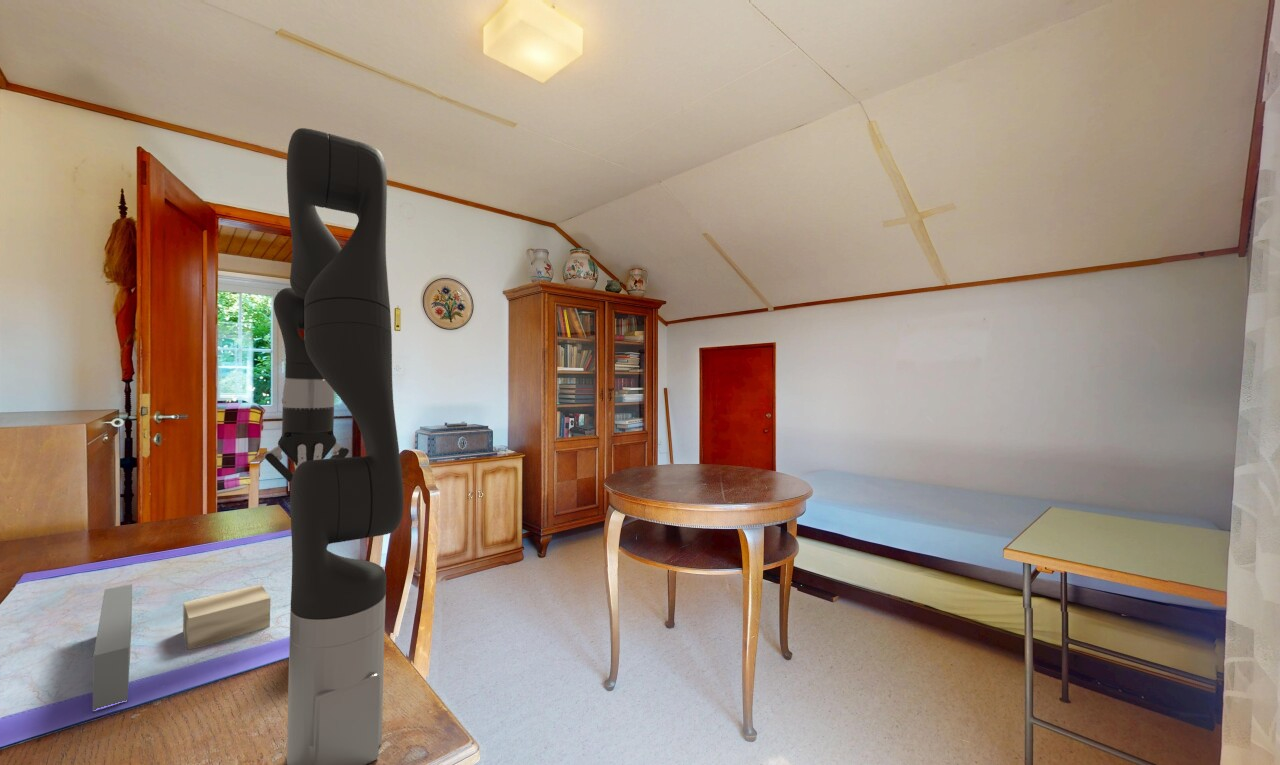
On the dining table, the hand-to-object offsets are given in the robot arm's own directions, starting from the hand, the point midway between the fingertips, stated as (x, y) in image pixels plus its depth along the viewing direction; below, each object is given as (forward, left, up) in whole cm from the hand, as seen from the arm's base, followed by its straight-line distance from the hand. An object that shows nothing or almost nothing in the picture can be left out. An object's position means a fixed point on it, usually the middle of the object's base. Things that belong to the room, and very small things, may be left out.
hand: (306, 502), depth 88 cm
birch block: (0, +11, -19) cm, 22 cm away
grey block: (-2, +23, -19) cm, 30 cm away
